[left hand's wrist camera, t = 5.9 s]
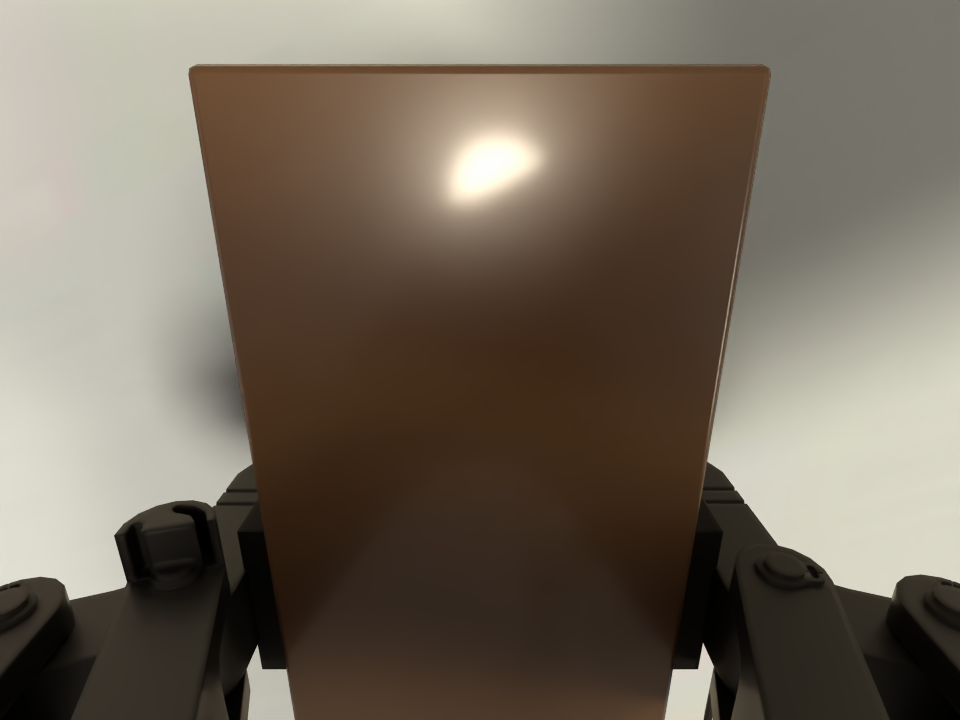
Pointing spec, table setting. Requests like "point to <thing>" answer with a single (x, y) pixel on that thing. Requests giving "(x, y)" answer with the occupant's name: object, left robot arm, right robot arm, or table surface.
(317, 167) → the post
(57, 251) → the table surface
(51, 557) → the table surface
